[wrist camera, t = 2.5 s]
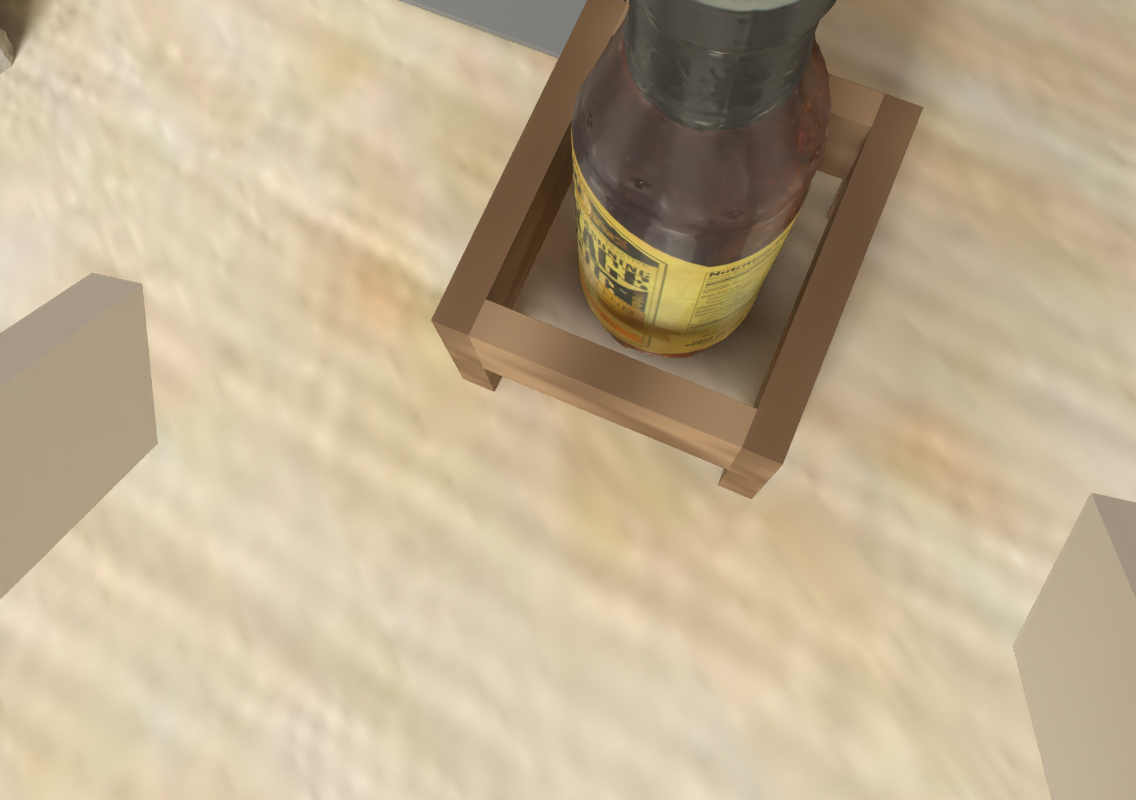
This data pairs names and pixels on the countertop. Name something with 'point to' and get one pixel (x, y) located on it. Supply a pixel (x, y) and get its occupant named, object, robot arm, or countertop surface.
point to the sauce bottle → (694, 163)
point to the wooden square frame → (617, 382)
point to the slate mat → (515, 19)
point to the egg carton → (5, 52)
